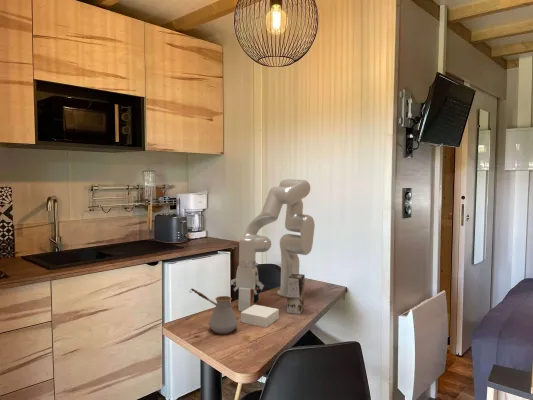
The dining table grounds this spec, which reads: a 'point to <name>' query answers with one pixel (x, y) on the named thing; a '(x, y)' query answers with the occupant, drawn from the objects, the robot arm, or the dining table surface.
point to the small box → (245, 298)
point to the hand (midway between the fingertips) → (246, 300)
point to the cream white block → (259, 315)
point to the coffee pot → (221, 314)
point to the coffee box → (295, 293)
